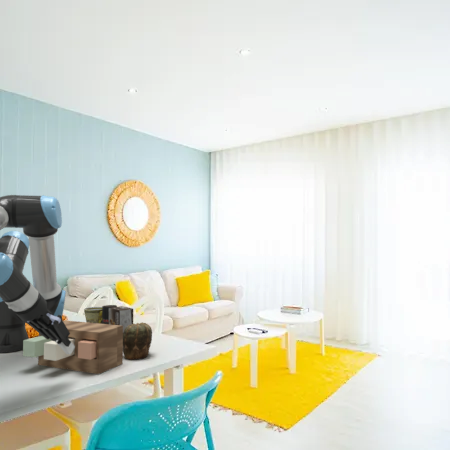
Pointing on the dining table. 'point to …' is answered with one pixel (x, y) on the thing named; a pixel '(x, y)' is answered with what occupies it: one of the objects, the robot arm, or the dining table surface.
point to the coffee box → (121, 316)
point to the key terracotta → (87, 349)
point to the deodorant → (106, 313)
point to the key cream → (56, 350)
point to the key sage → (34, 346)
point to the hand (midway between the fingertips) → (71, 350)
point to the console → (106, 348)
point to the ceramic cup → (93, 314)
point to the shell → (137, 341)
